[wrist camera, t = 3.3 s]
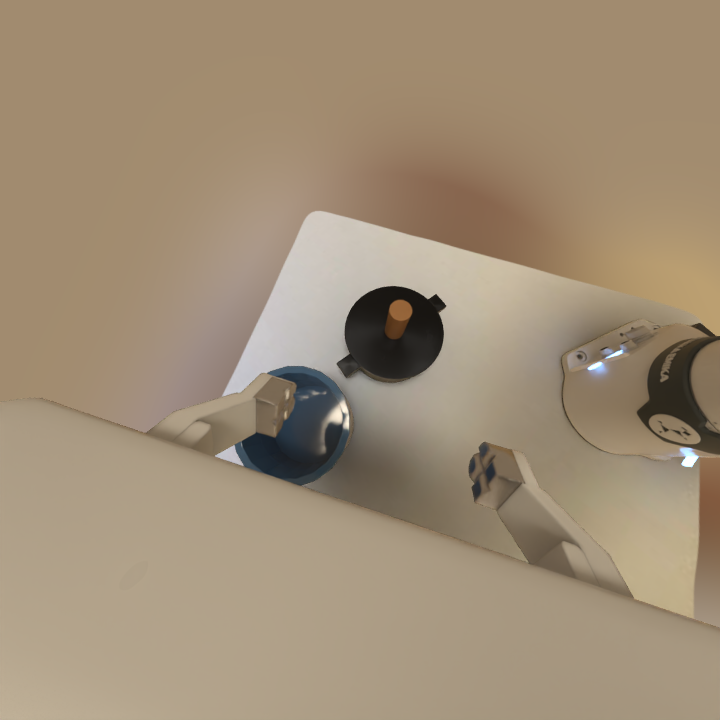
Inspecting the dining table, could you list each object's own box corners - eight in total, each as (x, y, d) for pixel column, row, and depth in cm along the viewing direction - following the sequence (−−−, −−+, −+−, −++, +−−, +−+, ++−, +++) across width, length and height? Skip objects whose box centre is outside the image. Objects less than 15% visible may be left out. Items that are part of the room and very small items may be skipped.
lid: (326, 323, 37) (317, 298, 29) (401, 274, 38) (410, 238, 31) (383, 400, 34) (389, 394, 26) (461, 343, 36) (487, 322, 28)
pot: (323, 365, 40) (308, 345, 29) (370, 433, 38) (373, 437, 27) (254, 413, 38) (212, 409, 28) (298, 487, 36) (271, 514, 25)
